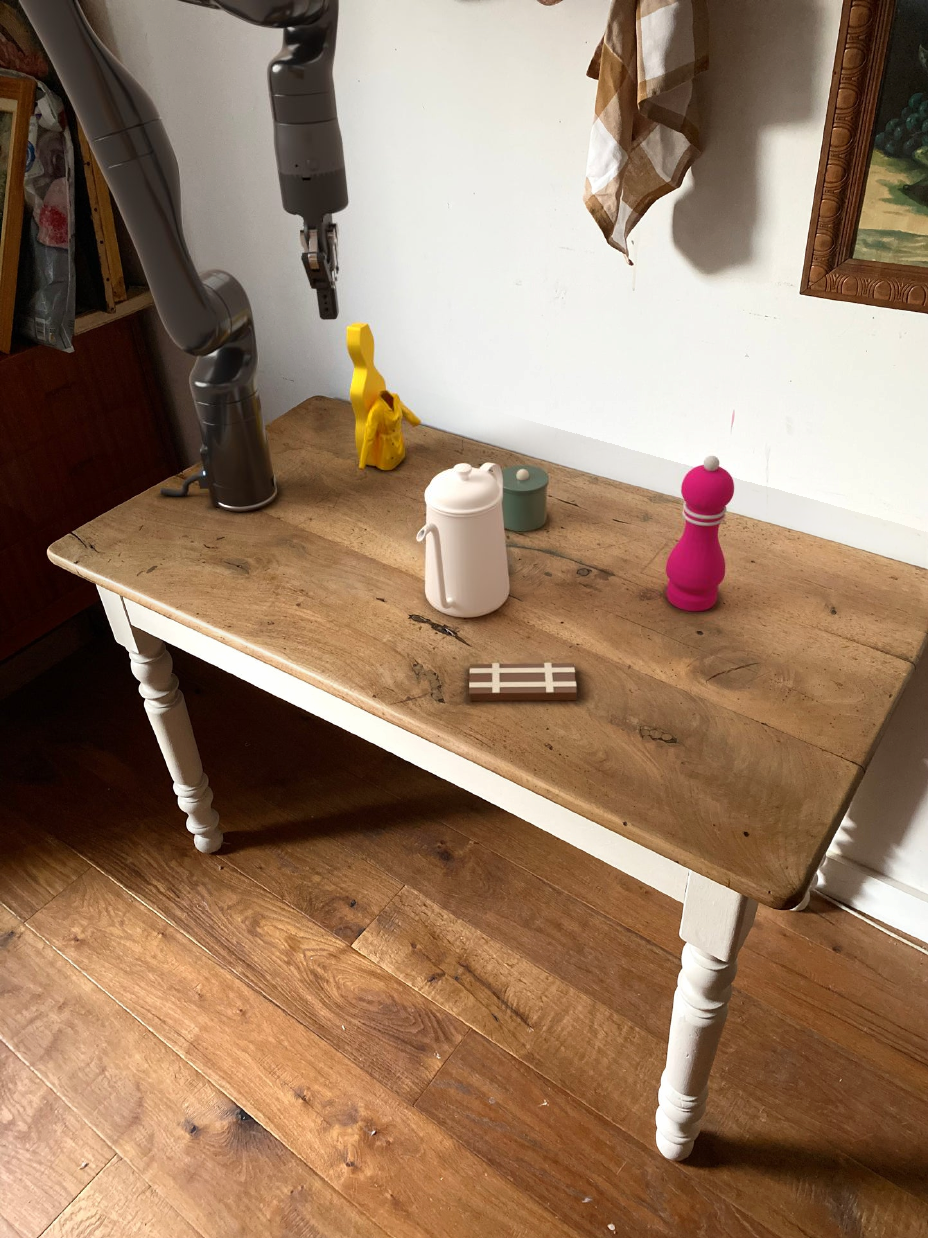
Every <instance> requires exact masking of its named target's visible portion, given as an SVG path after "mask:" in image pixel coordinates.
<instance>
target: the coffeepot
mask: <svg viewBox="0 0 928 1238" xmlns="http://www.w3.org/2000/svg"><path fill="white" fill-rule="evenodd" d="M491 470H492V471H491ZM501 470H502V468H501V466H500V465H499V464H498V463H493V462H485V463H483V464H481V466H480V467H479V468H477V467H472V465H471V464H469V463H463V462H462V463H457V464H456V465H454V466H453V468H449V469H445V470H443V471H441V472H440V473H438V474H437V475H435V476H434V477H433V478H432V479H431V481H430V483H429V485H428V486H426V488H425V491H424V502H425V504H426V510H425V511H426V515H425V517H426V518H425V519H426V520H425V525H424V526H422V528H421V529H420V530H419V531H418V532H417V534H416V541H417V542H419V543H420V542H422V541H423V539H425V562H424V563H425V567H424V568H425V570H424V572H425V573H424V592H425V593H424V594H425V597H426V599H427V601H428V603H429V604H430V605H431V606H432V607H433V608H434V609H435V610H437V611H439V612H440V613H443V614H445V615H447V616H451V617H455V618H475V617H476V618H477V617H482V616H484V615H488V614H490V613H493V612H494V611H496V610H498V609H499V608H500V607H501V606H502V605H504V604H505V602H506V601H507V599H508V597H509V594H510V588H511V587H510V577H509V565H508V555H507V545H506V534H505V527H504V522H503V512H502V498H503V476H502V471H501Z"/></svg>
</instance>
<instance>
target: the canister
mask: <svg viewBox="0 0 928 1238" xmlns="http://www.w3.org/2000/svg"><path fill="white" fill-rule="evenodd" d="M501 471H502V476H503V498H502V512H503V522H504V529H507V530H509V531H513V532H521V533H522V532H531V531H535V530H538V529H540V528H542V527H543V526H544V525H545V523H546V522H547V511H548V510H547V509H548V507H547V506H548V487H549V484H550V476H549V474H548V473H547V471H546V470H544V469H542V468H541V467H538V466H534V465H529V464H517V465H511V466H508V467H505V468H503V469H501Z"/></svg>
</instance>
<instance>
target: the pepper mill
mask: <svg viewBox="0 0 928 1238" xmlns="http://www.w3.org/2000/svg"><path fill="white" fill-rule="evenodd" d="M680 493H681V496H682V498H683V500H684V502H683V505H682V508H683V509H682V512H681V514H682V517H683V518H684V519H685V525H684V529H683V533H682V535H681V537H680V538H679V540H678V542H677V543H676V544H675V546H673V548H672V550H671V551H670V553H669V555H668V557H667V560H666V565H665V574H666V577H667V578H668V582H667V586H666V599H667V600H668V601H669V603H670V604H672V606H674V607H675V608H678V609H680V610H683V611H687V612H701V611H706V610H709V609H711V608H712V607H713V606H715V604H716V603H717V600H718V593H719V585H721V583H722V582H723V581H724V579H725V576H726V559H725V556H724V553H723V550H722V546H721V545H720V540H719V528H720V524H721V523H722V522H724V521H725V519H726V513H727V508H728V507H727V505H729V504H730V503H731V500H732V499H733V497H734V495H735V482H734V479H733V476H732V475H731V473H730V472H729V471H728V470H726V469H725V468H723V467H722V466H720V459H719V458H718V457H717V456H715V455H709V456H706V457H705V458H704V460H703V464H701V465H697V466H695V467H693V468H691V469H690V470H689V471H688V472H687V473H686V474H685V476H684V478H683V479H682V483H681V485H680Z"/></svg>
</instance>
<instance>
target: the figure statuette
mask: <svg viewBox="0 0 928 1238" xmlns="http://www.w3.org/2000/svg"><path fill="white" fill-rule="evenodd" d="M346 349H347V353H348V356H349V357H350V359H351V361H352V364H353V374H352V379H351V384H350V388H349V399H350V404H351V407H352V410H353V413H354V417H355V429H354V434H355V435H354V438H355V440H354V441H355V448H356V449H355V450H356V453H357V457H358V460H359V462H358V469H359V470H365V468H366V465H367V466H373V467H376V468H378V469H379V470H382V471H391V470H394V469H395V468H396V467H397V466H399V464H400V463H401V462H402V461H403V460H404V458H405V457H406V446H405V440H404V434H403V431H402V421H403V420H404V421H406V423H408V424H409V425H410V426H411V427H412V428H415V427H417V426H419V425H420V424H421V423H422V420H421V419H420V418H419V417H418V416H417V415H415V413H414V412H413V411H412V410H411V409H409V407H407V406H406V405H405V404H404V403H403V401H402V399H401V397H400V396H399V394H398V393H395V392H390V391H389V390H388V389H387V385H386V380H385V379H384V377H383V375H382V374H381V373H380V371H378V369H377V368H376V366H375V363H374V362H375V361H374V359H375V339H374V335H373V333H372V329H371V327H370V325H369V324H368V323H364V322H353V323H352V324H350V325H349V326H347V327H346Z"/></svg>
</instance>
